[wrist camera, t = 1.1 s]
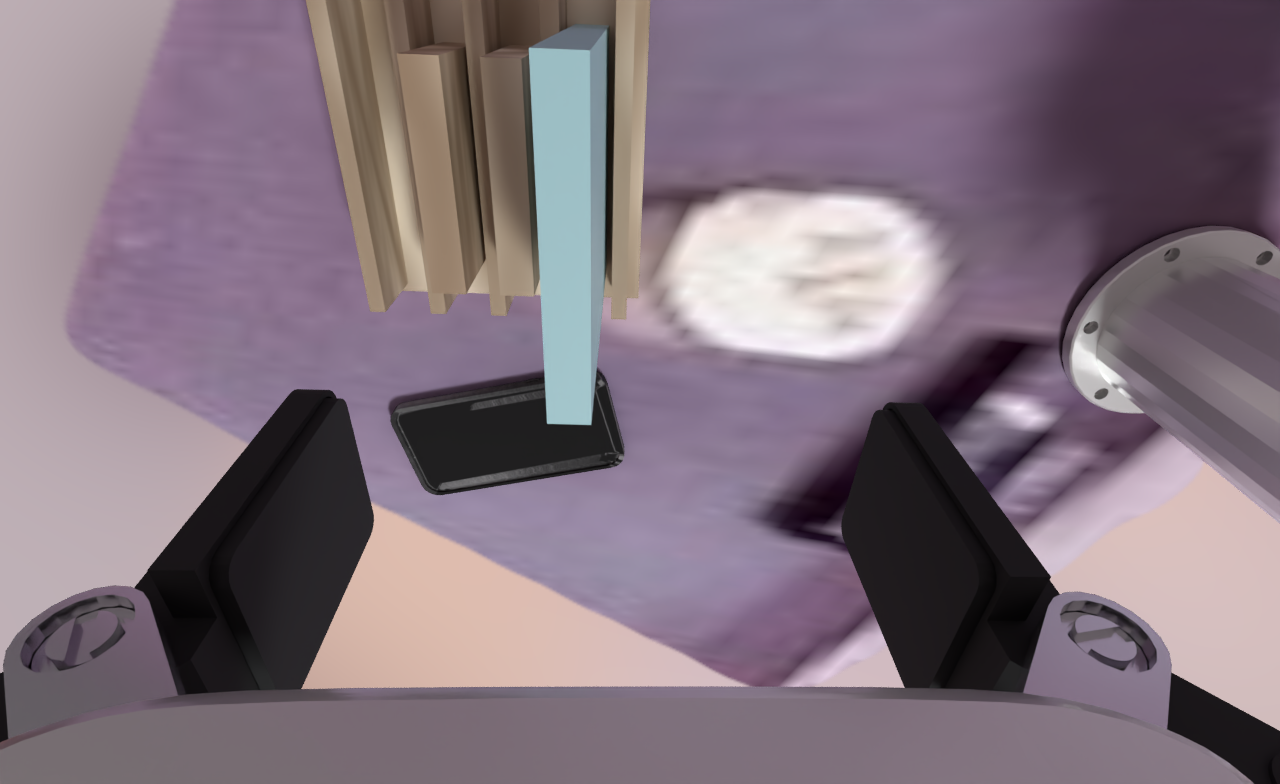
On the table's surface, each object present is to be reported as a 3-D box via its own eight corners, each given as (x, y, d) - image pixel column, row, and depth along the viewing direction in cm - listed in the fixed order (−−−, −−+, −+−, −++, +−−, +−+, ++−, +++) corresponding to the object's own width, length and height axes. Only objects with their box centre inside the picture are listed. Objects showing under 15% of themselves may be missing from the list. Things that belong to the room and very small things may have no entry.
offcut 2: (542, 46, 30) (521, 58, 25) (550, 246, 36) (534, 296, 30) (509, 44, 30) (479, 56, 25) (522, 245, 36) (500, 295, 30)
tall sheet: (609, 25, 30) (590, 50, 16) (606, 265, 36) (591, 424, 23) (575, 23, 30) (529, 47, 16) (579, 264, 36) (547, 423, 23)
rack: (650, -23, 30) (653, -26, 26) (638, 290, 39) (638, 328, 34) (331, -38, 30) (279, -43, 25) (390, 282, 38) (358, 319, 34)
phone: (627, 464, 45) (427, 497, 46) (627, 455, 46) (431, 487, 47) (602, 371, 41) (384, 410, 42) (603, 362, 42) (389, 401, 43)
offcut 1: (476, 43, 30) (438, 55, 24) (493, 244, 36) (466, 294, 30) (443, 42, 30) (396, 53, 24) (465, 243, 36) (432, 293, 30)
